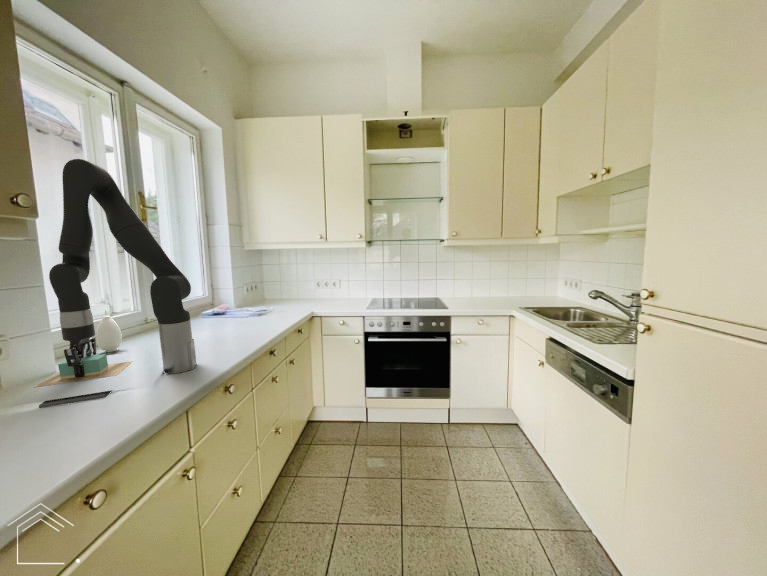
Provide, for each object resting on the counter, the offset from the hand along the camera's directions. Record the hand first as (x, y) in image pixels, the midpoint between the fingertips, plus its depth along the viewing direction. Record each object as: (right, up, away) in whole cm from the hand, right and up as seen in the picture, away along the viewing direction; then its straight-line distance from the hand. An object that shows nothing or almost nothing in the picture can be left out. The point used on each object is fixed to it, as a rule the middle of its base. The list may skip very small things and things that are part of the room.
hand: (85, 373), depth 101 cm
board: (+1, -2, +1) cm, 2 cm away
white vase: (-16, +1, +27) cm, 31 cm away
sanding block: (0, 0, 0) cm, 0 cm away
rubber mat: (+11, -3, -12) cm, 17 cm away
